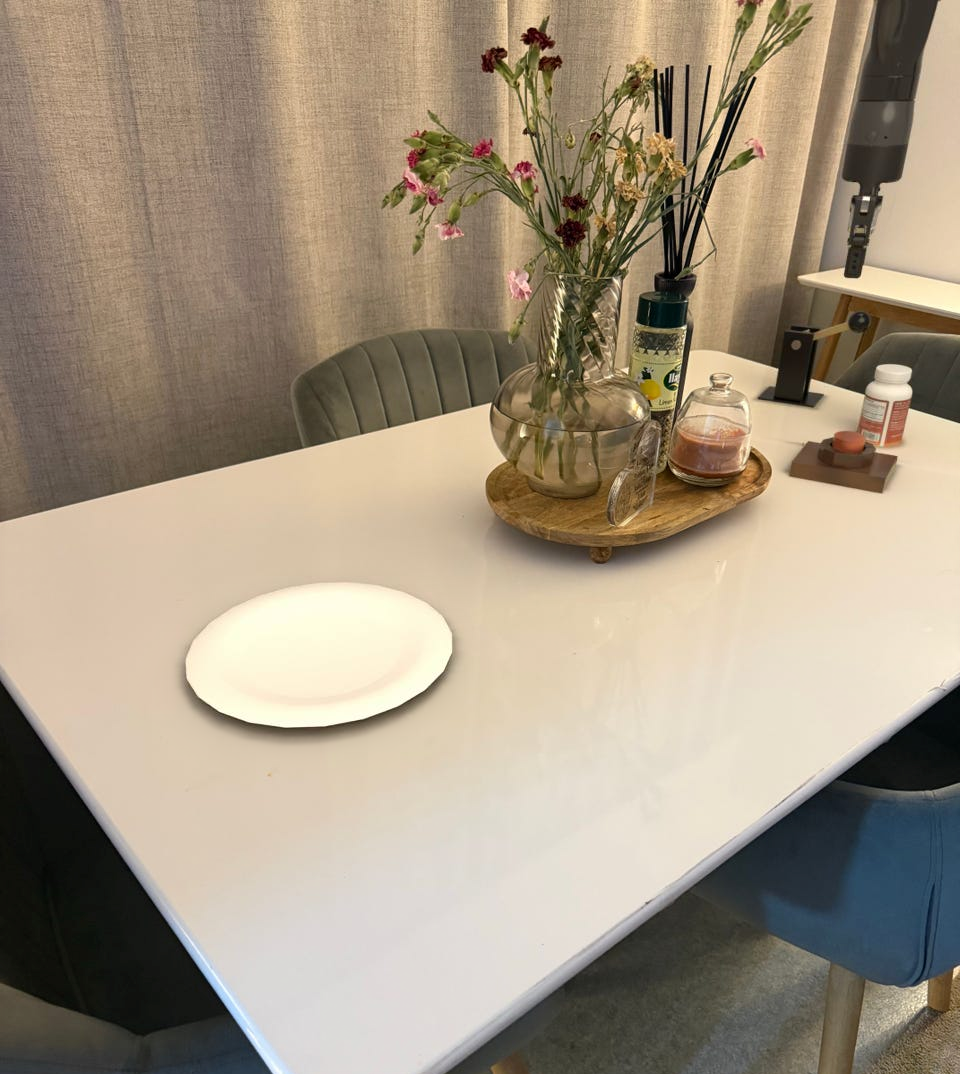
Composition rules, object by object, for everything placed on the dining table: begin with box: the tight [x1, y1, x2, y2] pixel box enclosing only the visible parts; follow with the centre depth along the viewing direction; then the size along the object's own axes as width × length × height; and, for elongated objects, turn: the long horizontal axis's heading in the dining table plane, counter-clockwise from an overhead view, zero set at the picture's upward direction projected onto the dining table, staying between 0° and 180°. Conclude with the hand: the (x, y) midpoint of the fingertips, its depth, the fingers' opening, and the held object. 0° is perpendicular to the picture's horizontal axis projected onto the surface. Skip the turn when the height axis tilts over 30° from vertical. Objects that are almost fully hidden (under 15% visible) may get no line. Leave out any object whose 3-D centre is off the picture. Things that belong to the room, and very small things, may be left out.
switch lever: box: [802, 310, 872, 341], centre depth 142 cm, size 12×3×3 cm, turn 60°
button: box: [832, 430, 866, 452], centre depth 122 cm, size 4×4×2 cm
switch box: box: [788, 436, 899, 495], centre depth 124 cm, size 12×9×4 cm
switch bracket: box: [757, 324, 825, 409], centre depth 147 cm, size 9×7×12 cm
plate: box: [184, 581, 453, 730], centre depth 87 cm, size 25×25×2 cm
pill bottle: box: [857, 363, 913, 447], centre depth 131 cm, size 6×6×11 cm
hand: (853, 271), depth 128 cm, fingers open, 8 cm apart
